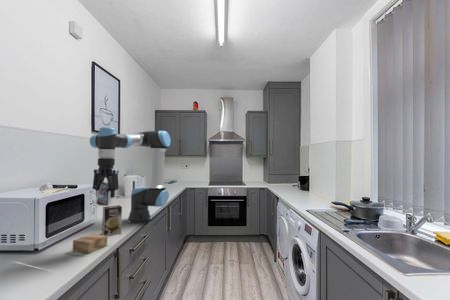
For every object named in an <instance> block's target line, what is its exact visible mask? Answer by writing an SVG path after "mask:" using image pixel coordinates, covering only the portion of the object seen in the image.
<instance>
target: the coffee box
mask: <svg viewBox="0 0 450 300" xmlns="http://www.w3.org/2000/svg"><path fill="white" fill-rule="evenodd" d="M122 208H123V207H122V206H121V205H119V204H118V205H108V206H102V224H101V225H102V226H101V235H104V236H107V237H110V236H115V235H117V234H119V235H122V218H123V217H122V216H123V215H122V214H123V213H122V212H123V209H122Z"/></svg>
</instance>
